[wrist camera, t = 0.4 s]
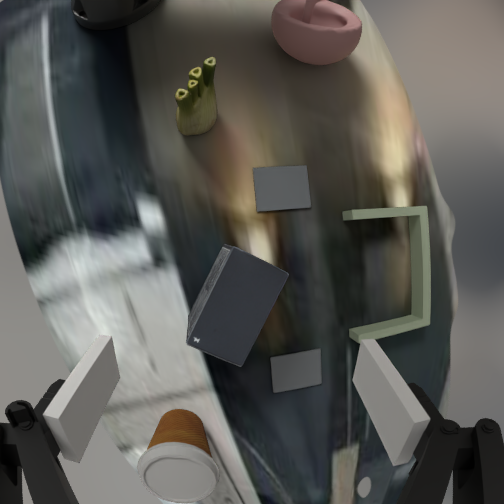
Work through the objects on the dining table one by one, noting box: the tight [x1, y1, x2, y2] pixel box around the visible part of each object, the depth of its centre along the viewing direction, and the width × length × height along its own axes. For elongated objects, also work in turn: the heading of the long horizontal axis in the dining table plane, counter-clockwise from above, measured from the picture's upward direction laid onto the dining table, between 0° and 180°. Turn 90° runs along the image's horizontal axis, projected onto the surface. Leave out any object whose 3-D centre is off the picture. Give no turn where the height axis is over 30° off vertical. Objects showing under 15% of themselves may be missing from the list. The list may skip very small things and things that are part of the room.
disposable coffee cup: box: [137, 409, 220, 503], centre depth 34 cm, size 10×10×12 cm
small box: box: [186, 244, 289, 367], centre depth 35 cm, size 11×6×10 cm, turn 154°
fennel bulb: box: [175, 57, 217, 136], centre depth 32 cm, size 6×5×12 cm
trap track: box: [253, 165, 431, 393], centre depth 41 cm, size 30×24×3 cm
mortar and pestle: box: [271, 0, 362, 65], centre depth 34 cm, size 12×12×11 cm
